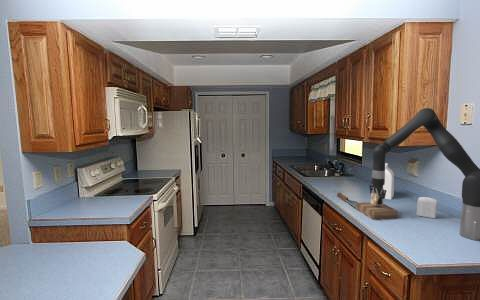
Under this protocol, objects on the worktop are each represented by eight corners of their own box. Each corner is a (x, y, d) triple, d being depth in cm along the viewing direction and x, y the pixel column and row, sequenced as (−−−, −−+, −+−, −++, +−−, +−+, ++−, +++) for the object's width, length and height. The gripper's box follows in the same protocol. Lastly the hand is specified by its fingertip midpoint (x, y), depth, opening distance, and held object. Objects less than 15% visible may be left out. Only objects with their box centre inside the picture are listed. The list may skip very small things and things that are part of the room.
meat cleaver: (372, 211, 186) (373, 205, 185) (356, 211, 185) (356, 205, 185) (350, 196, 219) (350, 191, 219) (336, 197, 218) (336, 192, 218)
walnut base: (397, 218, 171) (397, 210, 170) (373, 219, 169) (373, 211, 168) (378, 208, 189) (378, 201, 188) (356, 209, 186) (357, 202, 186)
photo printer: (435, 216, 173) (437, 197, 172) (436, 219, 170) (438, 199, 168) (416, 214, 178) (417, 195, 177) (416, 216, 175) (417, 197, 173)
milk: (390, 199, 209) (393, 165, 206) (374, 196, 216) (376, 164, 213) (393, 195, 219) (395, 163, 216) (377, 193, 226) (379, 161, 223)
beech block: (382, 205, 176) (383, 194, 175) (375, 205, 175) (376, 195, 174) (377, 203, 181) (378, 192, 180) (370, 203, 180) (371, 192, 179)
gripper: (391, 179, 169) (389, 206, 171) (376, 174, 183) (375, 199, 185) (380, 179, 168) (378, 207, 170) (366, 174, 182) (364, 200, 184)
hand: (376, 202), depth 178 cm, fingers closed on beech block, 5 cm apart
